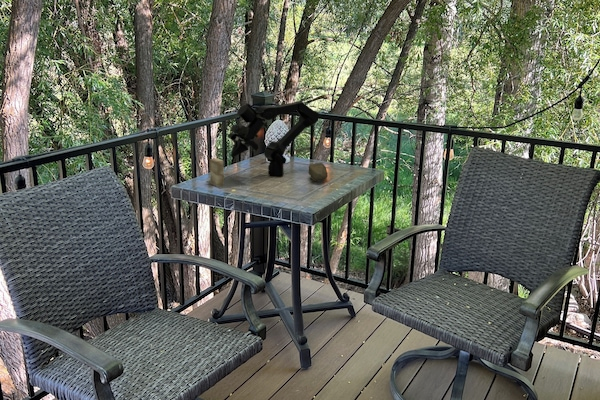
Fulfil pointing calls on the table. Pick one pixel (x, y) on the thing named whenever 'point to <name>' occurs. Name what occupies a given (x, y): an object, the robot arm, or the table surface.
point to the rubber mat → (228, 183)
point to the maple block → (217, 172)
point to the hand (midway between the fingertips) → (231, 156)
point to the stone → (318, 171)
